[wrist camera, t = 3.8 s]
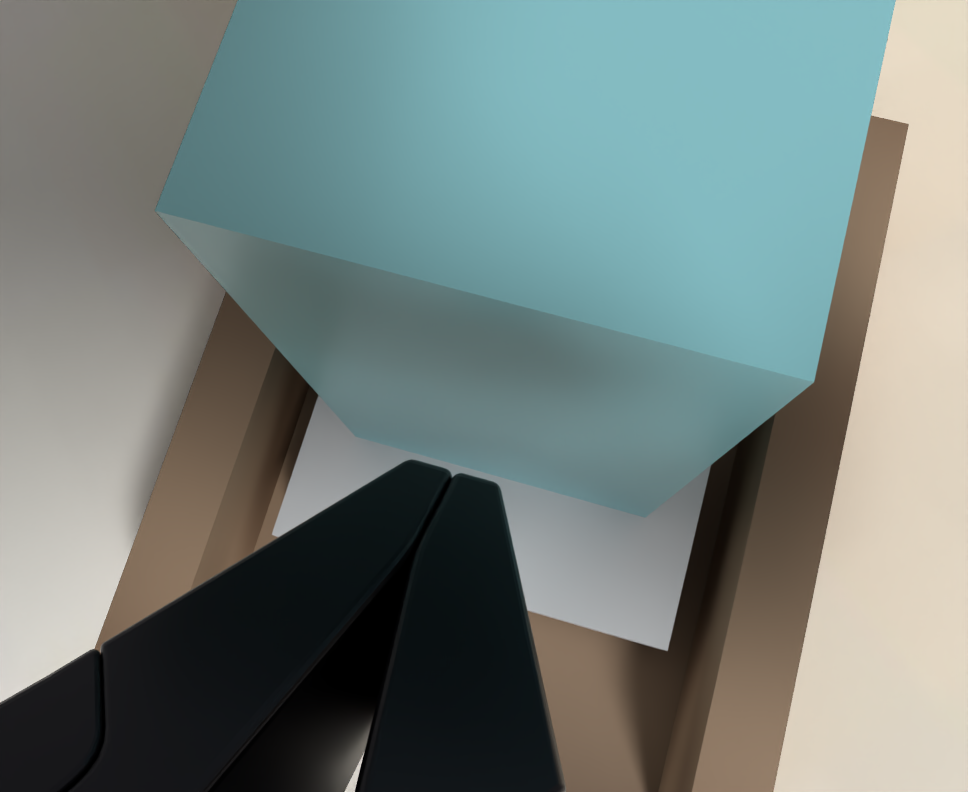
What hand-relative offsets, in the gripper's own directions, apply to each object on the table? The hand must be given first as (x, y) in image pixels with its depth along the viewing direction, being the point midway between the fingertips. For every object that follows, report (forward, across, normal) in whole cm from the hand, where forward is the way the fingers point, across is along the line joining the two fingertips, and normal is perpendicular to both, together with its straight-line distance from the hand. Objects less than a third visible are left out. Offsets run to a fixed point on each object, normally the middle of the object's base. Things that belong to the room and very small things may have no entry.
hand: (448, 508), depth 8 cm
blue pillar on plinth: (+8, 0, +3) cm, 8 cm away
